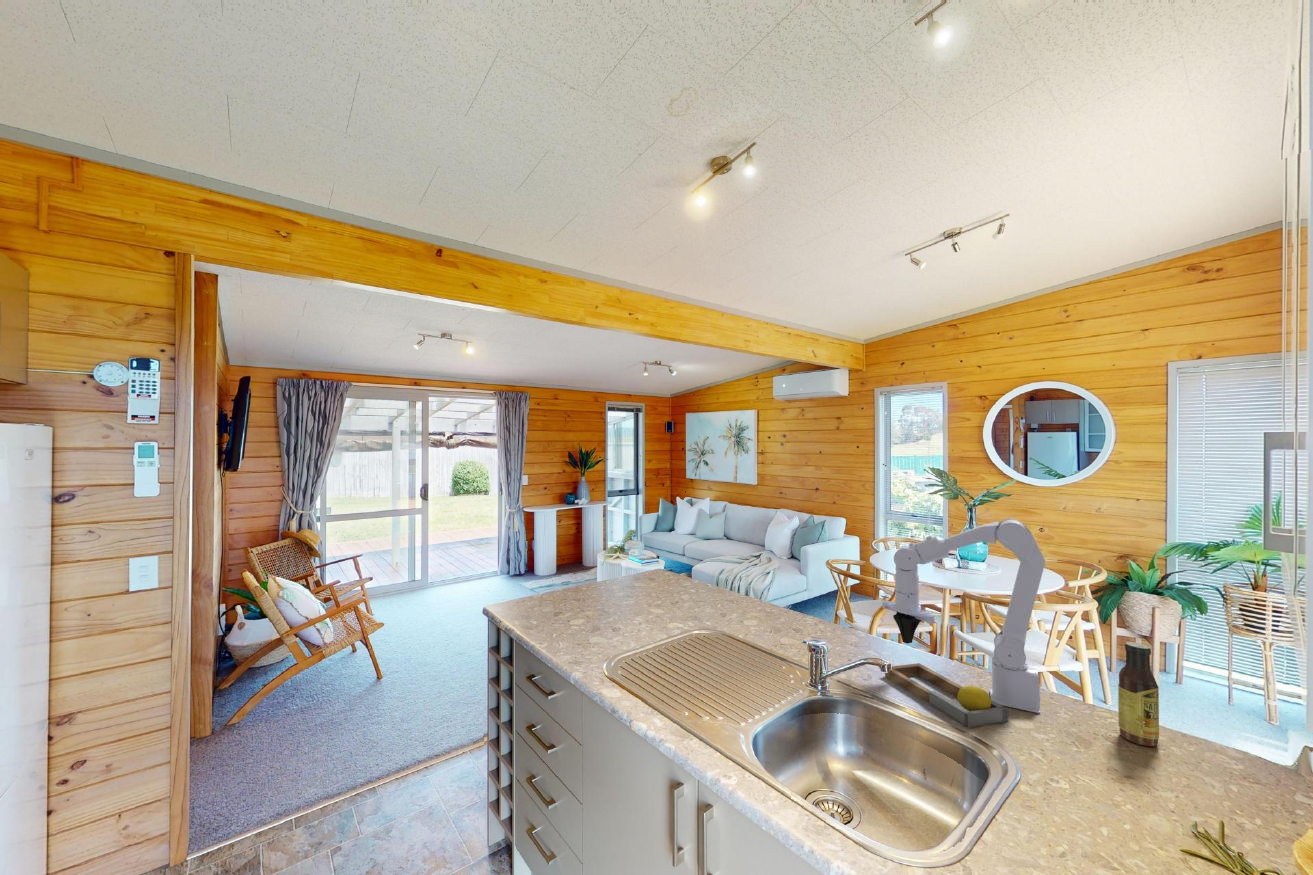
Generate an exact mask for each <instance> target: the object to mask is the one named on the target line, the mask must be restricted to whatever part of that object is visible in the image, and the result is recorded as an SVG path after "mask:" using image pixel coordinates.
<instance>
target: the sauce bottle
mask: <svg viewBox="0 0 1313 875" xmlns="http://www.w3.org/2000/svg"><path fill="white" fill-rule="evenodd" d="M1124 650H1125V663H1126V664H1125V665H1123V667H1121V669H1120V670H1119V672H1118V684H1117V685H1118V687H1117V688H1118V689H1117V690H1118V696H1117V698H1118V701H1117V702H1118V705H1117V707H1118V714H1117V715H1118V716H1117V717H1118V727H1119V735H1121V737H1122V738H1124V739H1125V740H1127V741H1129V742H1131V743H1134V744H1136V745H1140V746H1144V747H1156V746H1157V745H1158V744H1159V739H1160V709H1159V708H1160V704H1159V702H1160V700H1159V695H1160V694H1159V688H1160V687H1159V686H1158V682H1157V681H1156V679H1155V677H1154V673H1153V671H1152V669H1151V663H1150V662H1151V661H1150V660H1151V659H1150V656H1151V655H1152V652H1151V651H1152V648H1151V647H1150V646H1148V645H1146V644H1143V643H1138V642H1131V641H1126V642H1124ZM1143 722H1145V723H1143Z"/></svg>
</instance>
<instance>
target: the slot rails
mask: <svg viewBox="0 0 1313 875" xmlns="http://www.w3.org/2000/svg"><path fill="white" fill-rule="evenodd" d="M884 676H885V678H887V679H889V680H890V681H892V682H893V683H895V684H897V685H898V686H900V687H901V688H903V689H904V690H906V691H908V692H909V693H911V694H913V695H914V696H915V697H917V698H919V699H920V700H921V701H924V702H926V703H927V704H929V692H930V691H931V690H930V689H929V688H927V687H925V686H924V685H922V684H921V683H918V682H917V681H915V680H913V679H912V678H910V677H915V676H920V677H921V678H923V679H924V680H926V681H928V682H930V683H932V684H933V685H935V686H937V687H939V688H941V689H942V690H944V691H946V692H947V693H949V694H951V695H953V696H954V697H956V698H957V696H958V692H959V690H960V689H961V687H963V686H962V685H960V684H958V683H956V682H955V681H953V680H951V679H950V678H947V677H945V676H944V675H942V674H940V673H938V672H937V671H934V670H932V669H930V668H928V667H927V666H926V665H923V664H922V663H909V664H898V665H893V666H892V670H891V671H890V672H888V673H885V672H884ZM929 705H930V704H929Z"/></svg>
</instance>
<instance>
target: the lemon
mask: <svg viewBox="0 0 1313 875" xmlns="http://www.w3.org/2000/svg"><path fill="white" fill-rule="evenodd" d="M962 687H963V688H961V689H960V690H959V692H958V696H957V697H956V699H958V701H959V703H960V704H961V706H962V707H963V708H965V709H966V710H968V711H976V710H983V709H989V708H990V707H991V696H990V695H989V693H988V692H987V691H986V690H984V689H983V688H981V687H979V686H973V685H966V686H965V685H964V686H962Z"/></svg>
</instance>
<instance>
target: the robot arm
mask: <svg viewBox="0 0 1313 875" xmlns="http://www.w3.org/2000/svg"><path fill="white" fill-rule="evenodd" d="M997 541H998V542H999V543H1000V544H1001V545H1002V546H1004V547H1005V548H1006V549H1008V551H1010V552H1012V554H1014V556H1015V557H1016V558H1017V560H1018V561H1019V566H1018V570H1017V573H1016V577H1015V582H1014V585H1013V589H1012V593H1011V596H1010V600H1009V604H1008V608H1007V612H1006V615H1005V617H1004V622H1003V623H1002V628H1001V629H1000V631H999V632H998V633H997V634H996V635H995V637H994V640H993V643H994V644H993V646H994V649H993V655H994V657H992V658H991V677H992V679H991V682H992V686H991V688H989V694H990V695H989V696H990V698H991V700H992V701H994V702H996V703H998V704H1000V705H1002V706H1004V707H1008V708H1013V709H1017V710H1022V711H1028V712H1032V713H1035V714H1036V713H1037V714H1041V705H1040V704H1041V703H1040V702H1041V694H1040V693H1041V692H1040V676H1039V671H1038V669H1037V668H1033V667H1030V666H1028V663H1027V654H1026V652H1025V645H1026V639H1027V632H1028V628H1029V624H1030V620H1031V617H1032V612H1033V610H1034V607H1035V606H1034V605H1035V602H1036V600H1037V599H1036V598H1037V595H1038V590H1039V588H1040V584H1041V581H1042V576H1043V574H1044V573H1043V572H1044V568H1045V565H1046V560H1045V556H1044V555H1043V553H1042V551H1041V549H1040V547H1039V545H1038V542H1037V540H1036V539H1035V537H1034V535H1033V533H1032V531H1031V530H1030V529H1029V528H1027V526H1026V525H1025V524H1024V523H1023V522H1022V521H1020V520H1018V519H1015V518H1006V519H1004V520H1001V521H994V522H993V521H992V522H990V523H985V524H982V525H978V526H976V527H974V528H970V529H968V530H965V531H962V532H960V533H959V532H958V533H957V534H954V535H952V536H949V537H947V538H943V537H940V536H937V535H936V536H932V535H928V536H926V539H923V540H921V541H918V542H915V543H913V542H910V543H908V546H907V545H904V546H902V547H900V548H899V549H898V550H896V552H895V553H894V555H893V561H894V564H895V573H894V577H895V578H894V580H895V584H894V588H895V593H894V594H895V596H894V598H895V602H894V601H890V600H883V601H882V602H881V604H882V605H881V606H882V607H881V608H882V609H884V610H890V611H892V612H895V614H893V615H892V616H893V620H894V621H895V623H896V626H897V627H898V630H899V632H900V636H901V640H902V643H904V644H912V643H913V639H914V636H915V634H916V633H915V632H916V630H917V628H918V626H919V625H920V623H921V622H925V623H926V624H929V625H931V624H934V623H935V615H934V614H932V613H929V612H927V611H925V610H923V609H921V608H920V593H919V592H920V591H919V590H920V589H919V587H920V585H919V584H920V583H919V582H920V581H919V580H920V579H919V573H918V572H919V571H918V570H919V568H918V565H926V564H930V563H932V562H936V561H939V560H942V559H945V558H948V556H949V554H950V552H951V551H953V550H954V551H955V550H956V549H960V548H964V547H968V546H971V545H973V544H977V543H978V544H979V543H982V542H984V543H989V544H993V545H996V544H997Z"/></svg>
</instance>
